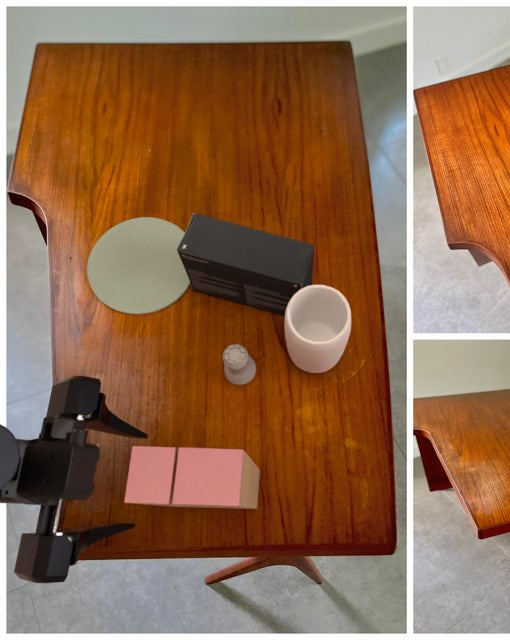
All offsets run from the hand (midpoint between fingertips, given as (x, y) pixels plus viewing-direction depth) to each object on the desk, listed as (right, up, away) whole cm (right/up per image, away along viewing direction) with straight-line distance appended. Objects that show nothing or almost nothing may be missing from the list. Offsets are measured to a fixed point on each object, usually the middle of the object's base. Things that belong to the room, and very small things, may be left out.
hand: (139, 479), depth 58 cm
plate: (-7, +26, +23) cm, 35 cm away
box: (+10, +22, +22) cm, 33 cm away
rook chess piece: (+8, +10, +18) cm, 22 cm away
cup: (+19, +13, +19) cm, 30 cm away
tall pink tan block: (+9, -5, +12) cm, 15 cm away
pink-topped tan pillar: (+3, -4, +12) cm, 13 cm away
